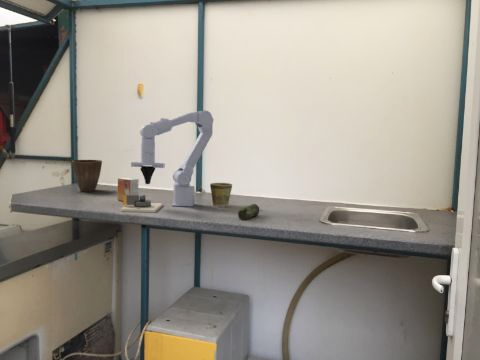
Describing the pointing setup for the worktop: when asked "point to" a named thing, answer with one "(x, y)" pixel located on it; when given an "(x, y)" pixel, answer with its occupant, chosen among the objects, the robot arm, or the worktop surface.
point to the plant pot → (87, 173)
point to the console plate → (142, 208)
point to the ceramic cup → (220, 193)
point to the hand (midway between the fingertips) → (147, 183)
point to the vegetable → (248, 211)
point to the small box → (127, 187)
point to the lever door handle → (136, 200)
